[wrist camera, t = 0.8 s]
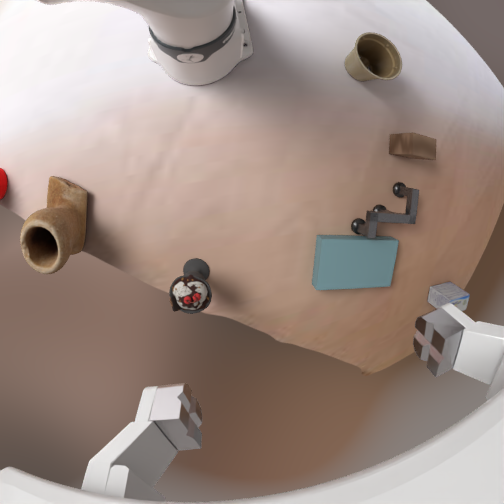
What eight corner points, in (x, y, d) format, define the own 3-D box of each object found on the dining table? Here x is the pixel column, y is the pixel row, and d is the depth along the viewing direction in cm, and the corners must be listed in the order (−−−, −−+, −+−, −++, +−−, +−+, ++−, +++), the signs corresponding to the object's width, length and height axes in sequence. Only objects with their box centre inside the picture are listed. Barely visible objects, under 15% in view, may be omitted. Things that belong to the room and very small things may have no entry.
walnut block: (389, 134, 47) (412, 132, 39) (412, 139, 47) (436, 139, 40) (389, 153, 48) (412, 154, 40) (411, 158, 49) (435, 160, 41)
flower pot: (386, 83, 43) (410, 74, 35) (351, 94, 44) (372, 85, 36) (365, 43, 40) (386, 29, 32) (328, 53, 41) (345, 36, 33)
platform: (316, 234, 52) (322, 239, 49) (391, 236, 53) (398, 240, 51) (311, 283, 55) (316, 290, 52) (383, 280, 57) (390, 286, 54)
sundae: (216, 256, 51) (213, 293, 37) (210, 289, 53) (206, 333, 39) (181, 250, 50) (165, 285, 36) (177, 283, 52) (162, 325, 38)
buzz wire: (355, 176, 49) (370, 179, 43) (404, 183, 50) (422, 186, 44) (350, 233, 52) (363, 241, 47) (398, 234, 54) (414, 242, 48)
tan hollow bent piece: (95, 258, 49) (58, 290, 35) (49, 246, 47) (8, 272, 33) (103, 182, 45) (61, 192, 31) (55, 174, 43) (8, 182, 29)
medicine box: (426, 301, 60) (446, 317, 52) (429, 285, 59) (450, 300, 51) (446, 295, 61) (466, 310, 52) (450, 280, 59) (470, 294, 51)
